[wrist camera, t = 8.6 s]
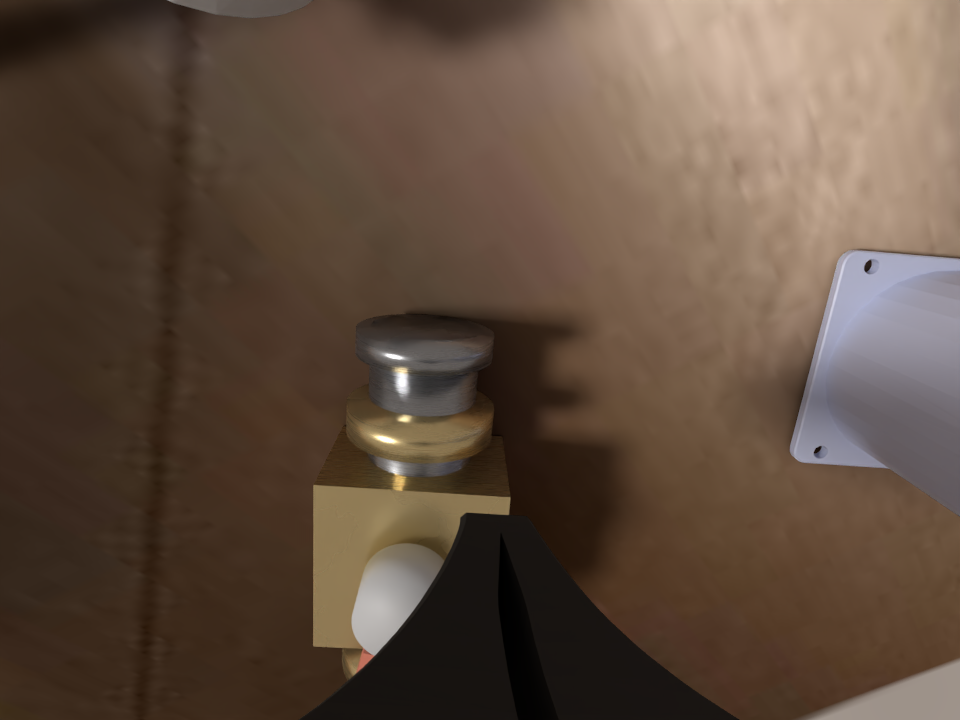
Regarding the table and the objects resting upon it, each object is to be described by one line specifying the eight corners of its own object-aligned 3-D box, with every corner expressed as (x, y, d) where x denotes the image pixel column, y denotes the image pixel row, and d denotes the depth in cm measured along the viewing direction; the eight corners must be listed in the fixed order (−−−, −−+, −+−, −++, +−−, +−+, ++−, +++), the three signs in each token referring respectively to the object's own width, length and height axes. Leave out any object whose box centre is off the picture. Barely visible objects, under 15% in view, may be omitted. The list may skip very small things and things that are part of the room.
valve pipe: (345, 308, 21) (311, 344, 16) (514, 321, 21) (527, 360, 16) (339, 652, 25) (311, 757, 21) (479, 659, 25) (481, 764, 21)
